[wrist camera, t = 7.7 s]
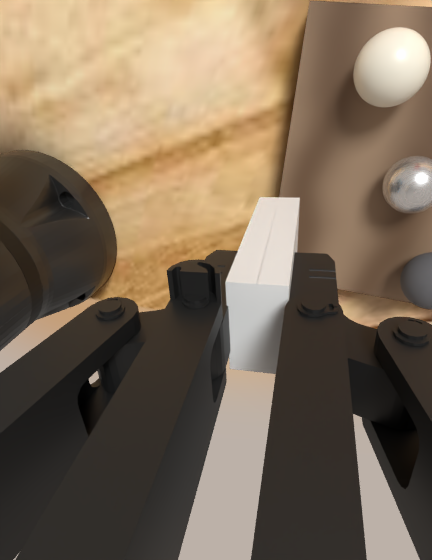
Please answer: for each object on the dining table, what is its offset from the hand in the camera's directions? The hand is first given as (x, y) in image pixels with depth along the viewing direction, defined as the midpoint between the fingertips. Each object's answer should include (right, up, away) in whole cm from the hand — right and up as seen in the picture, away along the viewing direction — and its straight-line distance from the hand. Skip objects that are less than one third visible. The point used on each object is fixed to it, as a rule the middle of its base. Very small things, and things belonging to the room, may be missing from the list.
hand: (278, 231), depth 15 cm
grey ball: (+12, -2, +11) cm, 16 cm away
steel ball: (+9, +4, +8) cm, 13 cm away
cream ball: (+7, +9, +6) cm, 13 cm away
